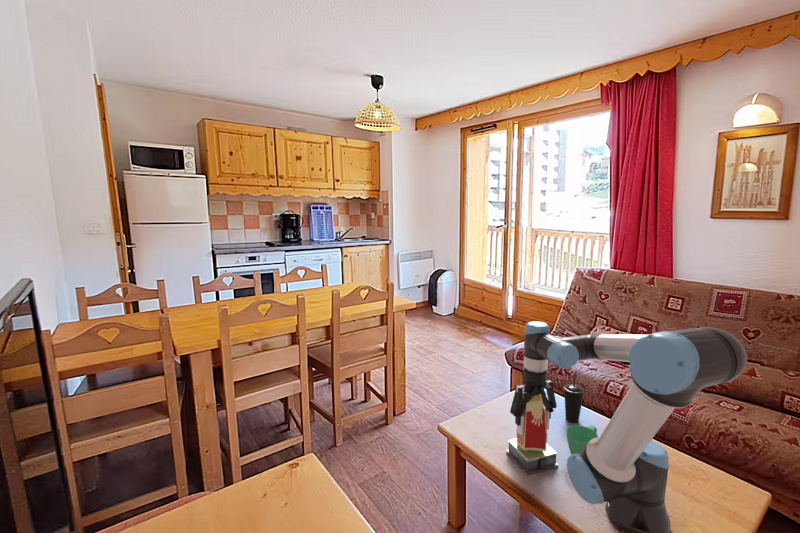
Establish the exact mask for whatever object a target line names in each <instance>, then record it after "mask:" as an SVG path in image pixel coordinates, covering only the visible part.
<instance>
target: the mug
mask: <svg viewBox="0 0 800 533" xmlns="http://www.w3.org/2000/svg"><path fill="white" fill-rule="evenodd" d="M565 430H566V431H565V432H566V438H567V440H566V441H567V445H568V448H569V453H570V456H571V455H573V454H575V453H576V454H579V453H581V452H583V450H584V449H585V447H586V445H587V444H588V442H589V441H590V440H592V439H594V438H598V437H599V434H598V429H597V427H596V426H595V425H593V424H589V425H588V426H584V425H581V424H577V425H576V424H574V425H573V424H572V425H569V426H568V427H567V428H566V429H565Z"/></svg>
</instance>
